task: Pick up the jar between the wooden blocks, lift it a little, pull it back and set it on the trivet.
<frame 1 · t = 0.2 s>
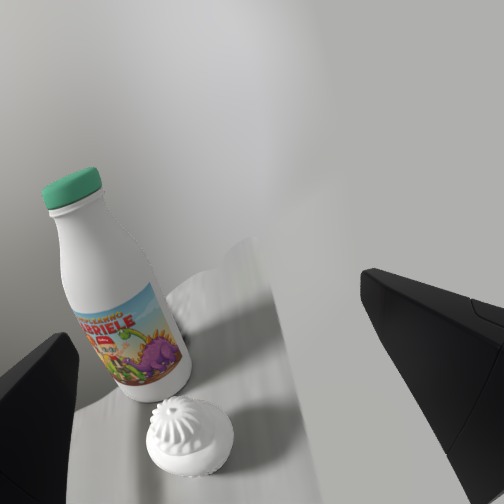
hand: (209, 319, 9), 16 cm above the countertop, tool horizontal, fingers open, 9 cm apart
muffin: (205, 459, 20), on the countertop
milk bottle: (157, 376, 29), on the countertop
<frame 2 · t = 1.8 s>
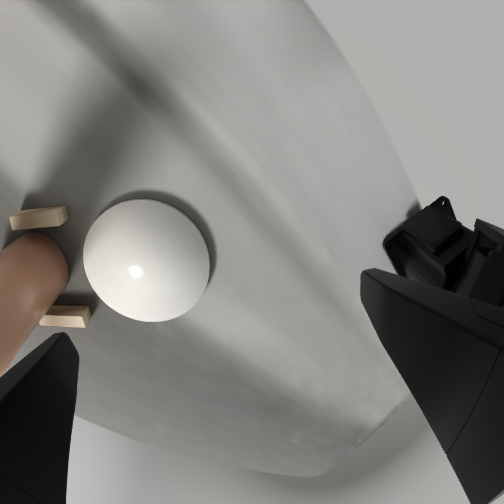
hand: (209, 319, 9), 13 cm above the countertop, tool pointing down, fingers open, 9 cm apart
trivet: (145, 262, 21), on the countertop
wooden blocks: (39, 266, 21), on the countertop
jar: (39, 265, 21), on the countertop
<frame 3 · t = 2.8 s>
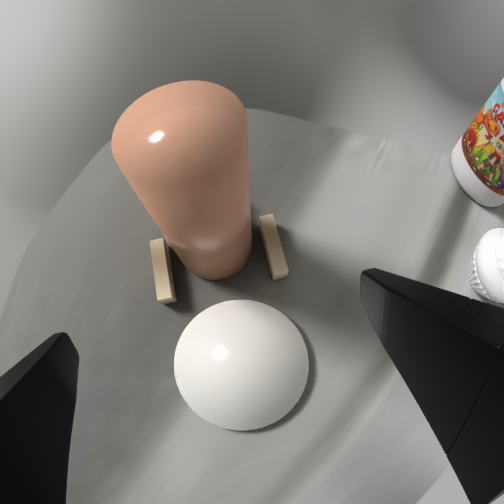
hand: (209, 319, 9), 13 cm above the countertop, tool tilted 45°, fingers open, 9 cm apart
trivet: (241, 365, 21), on the countertop
wooden blocks: (214, 243, 24), on the countertop
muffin: (480, 277, 23), on the countertop
milk bottle: (477, 176, 26), on the countertop
jar: (214, 243, 24), on the countertop
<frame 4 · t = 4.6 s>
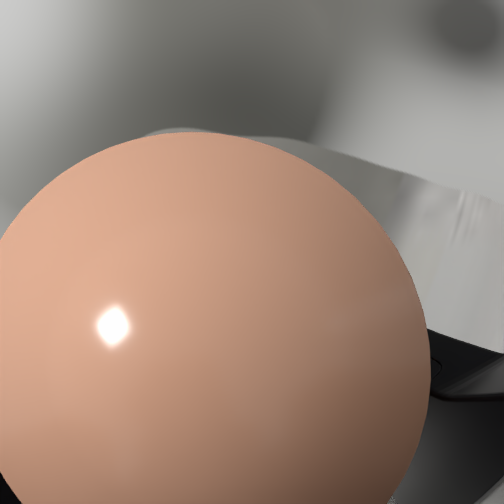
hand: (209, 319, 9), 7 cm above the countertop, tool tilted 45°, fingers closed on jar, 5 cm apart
jar: (236, 368, 15), on the countertop, touching gripper
when the fingers open (8 cm above the countertop, at t = 7.3 s): jar stays where it is, resting on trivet.
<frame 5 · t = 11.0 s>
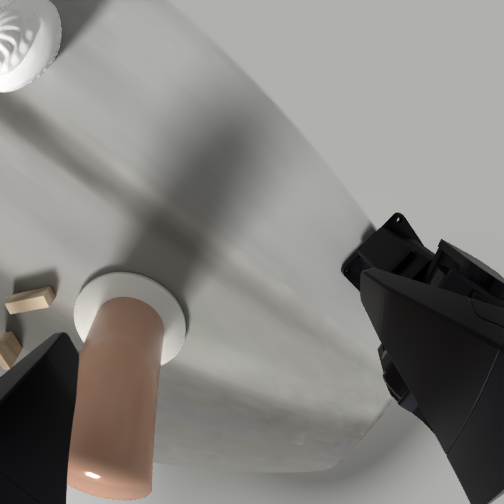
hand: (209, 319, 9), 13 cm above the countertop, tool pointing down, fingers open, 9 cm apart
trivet: (129, 323, 23), on the countertop
wooden blocks: (40, 336, 23), on the countertop
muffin: (41, 50, 15), on the countertop
jar: (129, 327, 23), point 1 cm above the countertop, touching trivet
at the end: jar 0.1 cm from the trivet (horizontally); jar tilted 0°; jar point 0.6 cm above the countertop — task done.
